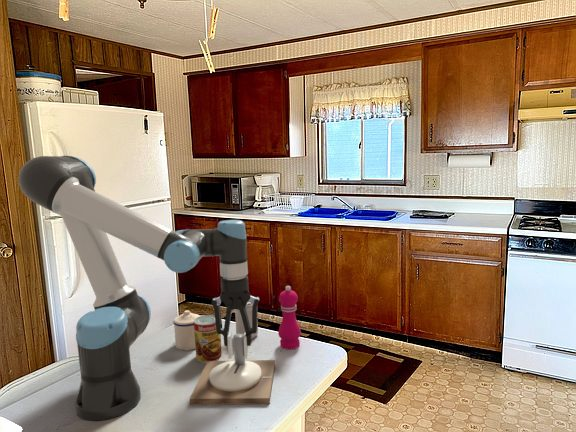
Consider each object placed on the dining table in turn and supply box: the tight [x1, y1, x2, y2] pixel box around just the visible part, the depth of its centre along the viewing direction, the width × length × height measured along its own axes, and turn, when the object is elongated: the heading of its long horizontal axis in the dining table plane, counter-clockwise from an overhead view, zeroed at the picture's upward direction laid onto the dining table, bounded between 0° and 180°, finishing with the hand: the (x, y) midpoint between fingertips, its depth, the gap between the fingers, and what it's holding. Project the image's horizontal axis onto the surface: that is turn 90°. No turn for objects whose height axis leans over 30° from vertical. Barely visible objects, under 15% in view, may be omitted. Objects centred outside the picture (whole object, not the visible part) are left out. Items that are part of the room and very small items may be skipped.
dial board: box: [189, 359, 276, 406], centre depth 116 cm, size 20×20×2 cm
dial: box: [209, 333, 261, 392], centre depth 115 cm, size 14×14×10 cm
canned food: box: [194, 314, 223, 363], centre depth 132 cm, size 8×8×12 cm
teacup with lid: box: [172, 310, 201, 351], centre depth 142 cm, size 12×9×12 cm
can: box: [234, 300, 259, 340], centre depth 146 cm, size 8×8×12 cm
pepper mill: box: [278, 285, 302, 350], centre depth 137 cm, size 7×7×20 cm
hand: (238, 356), depth 121 cm, fingers open, 4 cm apart
